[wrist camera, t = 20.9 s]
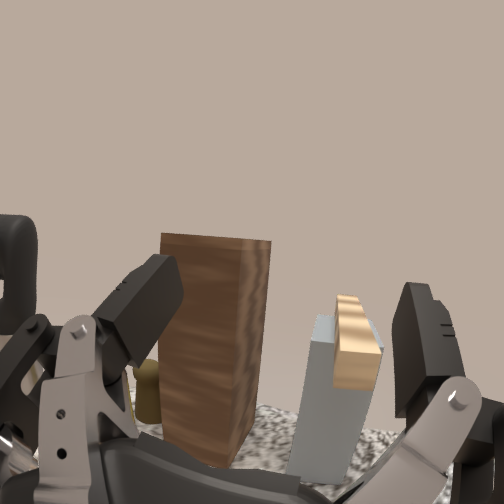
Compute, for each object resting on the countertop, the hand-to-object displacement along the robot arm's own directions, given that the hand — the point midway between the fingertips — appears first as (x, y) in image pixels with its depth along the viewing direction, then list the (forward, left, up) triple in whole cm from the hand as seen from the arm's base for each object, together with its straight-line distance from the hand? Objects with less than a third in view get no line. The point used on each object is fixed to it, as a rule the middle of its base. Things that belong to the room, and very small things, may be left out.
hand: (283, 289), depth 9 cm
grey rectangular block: (-7, +25, -30) cm, 40 cm away
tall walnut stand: (-22, +18, -30) cm, 42 cm away
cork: (-33, +13, -31) cm, 47 cm away
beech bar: (-5, +21, -8) cm, 23 cm away
